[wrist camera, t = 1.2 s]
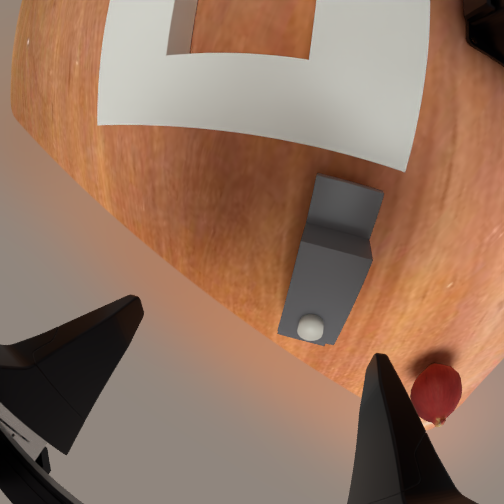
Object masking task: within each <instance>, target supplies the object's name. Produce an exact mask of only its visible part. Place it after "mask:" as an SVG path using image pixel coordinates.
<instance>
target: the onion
mask: <svg viewBox="0 0 504 504" xmlns="http://www.w3.org/2000/svg"><path fill="white" fill-rule="evenodd" d="M461 394H462V385H461V378H460V376H459V373H458V372H457V371H455V370H454V369H453V368H452V367H451V366H447V365H443V364H438V363H432V364H430V365H429V366H428V367H427V368H426V369H425V370H424V371H423V372H422V373H421V374H420V375H419V376H418V377H417V379H416V380H415V382H414V384H413V387H412V389H411V395H410V397H411V401H412V403H413V405H414V407H415V409H416V412H417V414H418V416H419V417H421V418H422V419H424V420H426V421H428V422H432V423H433V424H434V425H435V426H436V427H441V426H442V425H443V424H444V422H445V421H446V420H445V419H446V418H447V417H448V416H449V415H450V414H451V413H452V412H453V411H454V410H455V408H456V406H457V404H458V402H459V400H460V398H461Z"/></svg>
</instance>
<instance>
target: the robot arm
mask: <svg viewBox="0 0 504 504" xmlns="http://www.w3.org/2000/svg"><path fill="white" fill-rule="evenodd" d="M463 7H464V17H465V19H466V39H467V42H468V43H469V45H470V46H472V47H474V48H475V49H477V50H479V51H480V52H482V53H484V54H485V55H487V56H489V57H490V58H492V59H493V60H495V61H496V62H498V63H500V64H501V65H502V66H504V0H463ZM471 38H472V39H474V41H475V43H474V42H473V41H472V39H471ZM143 315H144V311H143V307H142V304H141V300H140V298H139V297H138V296H135V295H128V296H125V297H123V298H121V299H119V300H116V301H114V302H112V303H110V304H107V305H105V306H103V307H101V308H98V309H96V310H94V311H92V312H89V313H87V314H85V315H83V316H81V317H78V318H76V319H74V320H72V321H70V322H67V323H65V324H63V325H61V326H59V327H56V328H54V329H52V330H49V331H47V332H45V333H42V334H40V335H37V336H35V337H32V338H29V339H26V340H24V341H21V342H18V343H15V344H12V345H0V489H1V490H2V491H3V493H4V494H5V495H6V496H7V497H8V499H9V500H10V501H11V502H12V503H13V504H83V503H82V502H81V501H79V500H78V499H77V498H75V497H74V496H73V495H71V494H70V493H69V492H68V491H67V490H65V489H64V488H63V487H62V486H61V485H60V484H58V483H57V482H56V481H55V480H54V479H53V478H51V477H50V476H49V475H48V474H49V473H50V471H51V469H50V463H49V457H48V450H47V448H46V447H45V445H46V444H47V443H49V444H51V445H52V446H53V447H55V448H56V449H57V450H59V451H60V452H62V453H63V454H65V455H67V454H68V452H69V450H70V449H71V447H72V445H73V443H74V441H75V439H76V437H77V435H78V433H79V431H80V429H81V428H82V426H83V424H84V422H85V420H86V418H87V416H88V415H89V413H90V411H91V409H92V407H93V406H94V404H95V402H96V400H97V399H98V397H99V395H100V393H101V392H102V390H103V388H104V386H105V385H106V383H107V381H108V380H109V378H110V376H111V374H112V373H113V371H114V370H115V368H116V366H117V365H118V363H119V361H120V360H121V358H122V356H123V355H124V353H125V351H126V350H127V348H128V346H129V344H130V343H131V341H132V338H133V336H134V334H135V332H136V330H137V328H138V326H139V324H140V322H141V320H142V318H143ZM425 432H426V430H425V428H424V426H423V424H422V422H421V420H420V418H419V416H418V414H417V412H416V409H415V407H414V405H413V403H412V401H411V399H410V398H409V396H408V394H407V392H406V390H405V388H404V386H403V384H402V382H401V380H400V378H399V376H398V375H397V373H396V371H395V369H394V367H393V365H392V363H391V362H390V360H389V358H388V356H387V355H386V354H381V353H376V354H374V356H373V358H372V359H371V361H370V363H369V365H368V367H367V369H366V374H365V381H364V387H363V393H362V399H361V404H360V412H359V423H358V434H357V445H356V452H355V460H354V468H353V474H352V480H351V486H350V492H349V498H348V503H347V504H478V503H476V502H474V501H472V500H470V499H468V498H467V497H465V496H464V495H462V494H461V493H460V492H459V491H458V490H457V488H456V487H455V485H454V483H453V482H452V480H451V478H450V476H449V475H448V473H447V471H446V469H445V467H444V466H443V464H442V463H441V460H440V459H439V457H438V455H437V453H436V452H435V449H434V447H433V445H432V443H431V441H430V439H429V437H428V434H427V433H425Z"/></svg>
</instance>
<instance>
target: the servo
mask: <svg viewBox="0 0 504 504" xmlns="http://www.w3.org/2000/svg"><path fill="white" fill-rule="evenodd" d="M383 196H384V192H383V191H382V190H379V189H375V188H372V187H369V186H365V185H362V184H358V183H355V182H351V181H348V180H344V179H340V178H336V177H332V176H329V175H325V174H321V173H317V176H316V180H315V185H314V190H313V194H312V199H311V204H310V208H309V212H308V217H307V221H306V225H305V228H304V232H303V235H302V238H301V242H300V246H299V250H298V254H297V258H296V262H295V266H294V270H293V274H292V278H291V282H290V286H289V290H288V294H287V297H286V301H285V305H284V309H283V312H282V316H281V320H280V323H279V327H278V330H277V331H278V333H277V334H280V335H284V336H288V337H291V338H295V339H299V340H302V341H306V342H310V343H314V344H318V345H322V346H325V344H326V343H327V344H331V345H334V344H335V342H336V340H337V338H338V336H339V334H340V332H341V330H342V328H343V326H344V324H345V322H346V320H347V318H348V316H349V314H350V311H351V309H352V307H353V305H354V303H355V301H356V299H357V296H358V294H359V292H360V290H361V287H362V285H363V283H364V280H365V278H366V276H367V273H368V271H369V268H370V266H371V263H372V261H373V259H372V252H371V247H370V241H369V239H370V236H371V233H372V230H373V228H374V225H375V222H376V219H377V215H378V212H379V209H380V206H381V203H382V200H383Z"/></svg>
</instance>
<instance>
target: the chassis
mask: <svg viewBox="0 0 504 504" xmlns="http://www.w3.org/2000/svg"><path fill="white" fill-rule="evenodd" d="M197 2H198V0H110V4H109V9H108V14H107V19H106V24H105V30H104V37H103V44H102V52H101V61H100V72H99V87H98V125H159V126H177V127H190V128H202V129H212V130H221V131H229V132H237V133H244V134H251V135H257V136H263V137H269V138H275V139H280V140H286V141H291V142H296V143H300V144H305V145H310V146H314V147H319V148H323V149H327V150H331V151H335V152H339V153H343V154H347V155H350V156H354V157H358V158H361V159H365V160H368V161H371V162H375V163H378V164H381V165H384V166H388V167H391V168H394V169H397V170H400V171H403V172H405V171H406V168H407V164H408V160H409V156H410V152H411V148H412V144H413V140H414V135H415V131H416V126H417V122H418V117H419V111H420V106H421V100H422V94H423V88H424V81H425V74H426V66H427V56H428V45H429V29H430V0H317V1H316V9H315V17H314V25H313V32H312V40H311V47H310V54H309V60H307V59H300V58H293V57H284V56H275V55H264V54H248V53H194V54H190V47H191V39H192V33H193V26H194V20H195V14H196V8H197Z"/></svg>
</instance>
